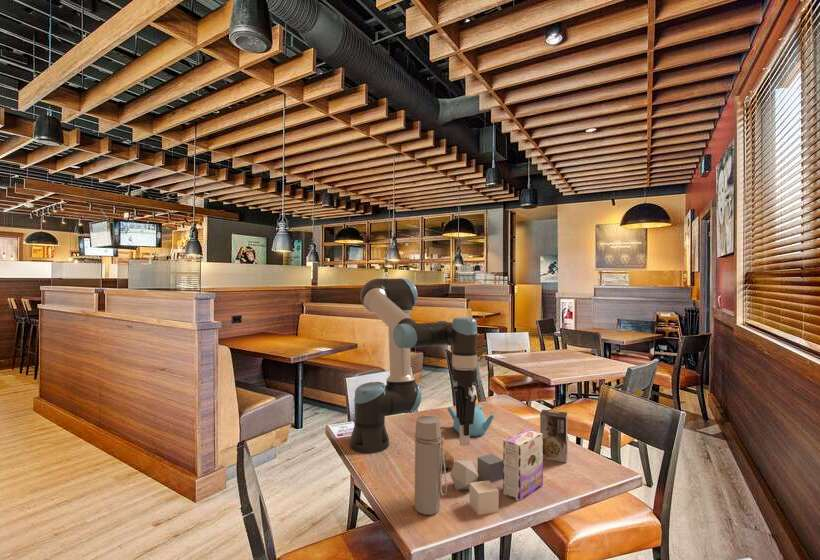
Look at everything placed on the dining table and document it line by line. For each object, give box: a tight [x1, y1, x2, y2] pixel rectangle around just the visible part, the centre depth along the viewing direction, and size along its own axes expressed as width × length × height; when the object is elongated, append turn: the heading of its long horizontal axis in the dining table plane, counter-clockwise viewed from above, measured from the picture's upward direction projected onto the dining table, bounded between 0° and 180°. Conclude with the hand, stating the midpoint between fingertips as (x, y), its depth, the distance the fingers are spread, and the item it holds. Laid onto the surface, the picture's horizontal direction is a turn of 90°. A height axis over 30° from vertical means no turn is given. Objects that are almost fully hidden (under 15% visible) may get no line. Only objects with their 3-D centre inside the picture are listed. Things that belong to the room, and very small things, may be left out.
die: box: [449, 459, 479, 491], centre depth 127 cm, size 8×9×10 cm
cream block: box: [469, 480, 500, 516], centre depth 115 cm, size 6×6×6 cm
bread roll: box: [440, 447, 455, 475], centre depth 140 cm, size 10×10×8 cm
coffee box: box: [539, 409, 569, 463], centre depth 149 cm, size 9×6×16 cm
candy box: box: [502, 428, 544, 502], centre depth 125 cm, size 14×6×16 cm, turn 133°
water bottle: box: [414, 415, 448, 516], centre depth 114 cm, size 9×8×25 cm
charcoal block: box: [477, 453, 503, 484], centre depth 133 cm, size 6×6×6 cm
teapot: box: [447, 404, 496, 437], centre depth 175 cm, size 15×17×11 cm
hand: (464, 444), depth 126 cm, fingers closed
